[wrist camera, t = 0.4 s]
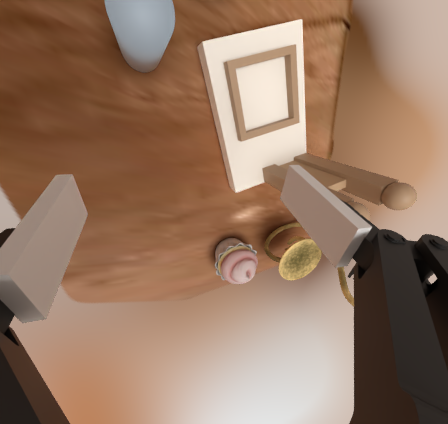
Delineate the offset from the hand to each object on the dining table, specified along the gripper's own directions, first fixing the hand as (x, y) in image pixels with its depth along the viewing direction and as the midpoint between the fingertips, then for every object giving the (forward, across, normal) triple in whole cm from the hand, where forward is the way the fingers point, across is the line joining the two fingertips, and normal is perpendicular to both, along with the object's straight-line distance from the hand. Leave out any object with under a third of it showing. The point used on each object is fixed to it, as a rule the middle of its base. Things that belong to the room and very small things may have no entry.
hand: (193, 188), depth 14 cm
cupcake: (+19, +10, -28) cm, 35 cm away
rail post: (+25, -4, +6) cm, 26 cm away
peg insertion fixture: (+25, +14, -1) cm, 29 cm away
